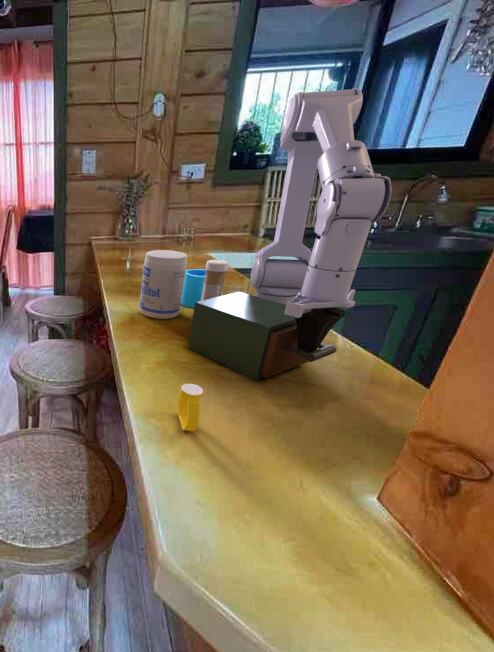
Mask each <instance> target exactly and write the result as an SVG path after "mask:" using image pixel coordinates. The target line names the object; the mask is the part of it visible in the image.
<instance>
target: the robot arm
mask: <svg viewBox="0 0 494 652" xmlns="http://www.w3.org/2000/svg"><path fill="white" fill-rule="evenodd" d="M363 99H364V95H363V93H362V90H361V89H360V88H359V87H353V88H352V89H337V90H323V91H310V92H309V91H307V92H302V91H298V92H296V93H295V94H294V95H292V96H291V98H290V99H289V101H288V104H287V107H286V110H285V113H284V116H283V121H282V128H281V133H280V140H279V141H280V146H279V148H280V149H281V150H283V151H285V152H287V164H286V165H287V166H286V171H285V176H284V177H285V178H284V182H283V188H282V194H281V200H280V205H279V211H278V217H277V222H276V227H275V232H274V233H275V234H274V239H273V242H271V243H269V244H267V245H266V246H264V247H262V248H260V249H259V250H258V251H257V253H256V254H255V259H254V262H253V264H252V266H251V271H250V284H251V286H252V288H253V289H255V295H254V296H256V297H260V298H263V299H267V300H270V301H274V302H277V303H281V304H285V305H287V306H286V310H285V313H284V314H286V315H290V316H293V317H294V318H295V321H296V325H297V335H298V349H300V350H302V351H305V352H308V353H310V352H313V351H315V350H318V349H319V348H318V347H319V346H320V344H322V343H323V341H324V340H325V338H326V336H327V335H328V333H329V332H331V330H332V329H333V328H334V326H335V325H336V324H337V323H338V322H339V321H340V320H341V319H343V318H344V317H345V316H346V314H347V310H345V309H349V308H353V307H355V305H356V301H355V300H354V296H355V293H356V289H353V288H352V287H351V286H352V283H353V280H354V278H355V275H356V272H357V268H358V266H359V263H360V260H361V257H362V254H363V251H364V249H365V245H366V242H367V240H368V236H369V233H370V230H371V227H372V223H376V222H377V221H379V220H380V219H381V218H382V217H383V216H384V215H385V212H386V211H387V209H388V207H389V204H390V201H391V199H392V198H391V197H392V189H393V188H392V182H391V181H392V180H391V178H390V177H388V176H386V175H383V176H382V174H381V173H375V171H374V169H373V166H372V162H371V159H370V155H369V152H368V149H367V146H366V144H365V143H364V142H363V141H361V140H358V139H357V140H356V139H355V133H354V132H355V131H354V124H355V123H356V121H357V119H358V117H359V115H360V113H361V109H362V106H363ZM317 170H318V175H319V180H320V185H321V193H320V196H319V198H318V202H317V207H316V220H315V224H314V233H315V234H316V237H315V240H314V243H313V247H312V250H311V249H309V248H308V247H307V246H306V245H305V244H303V239H304V235H305V228H306V223H307V219H308V214H309V208H310V205H311V204H310V203H311V199H312V192H313V189H314V184H315V183H314V182H315V179H316V178H315V177H316V173H317ZM272 257H284V258H272ZM285 257H286V258H285ZM288 257H289V258H290V257H291V258H296V259H289V258H288ZM340 307H341V308H340ZM343 308H345V309H343Z"/></svg>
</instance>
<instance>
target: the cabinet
mask: <svg viewBox="0 0 494 652" xmlns="http://www.w3.org/2000/svg"><path fill="white" fill-rule="evenodd" d="M286 306H287V305H285V304H281V303H277V302H274V301H270V300H267V299H263V298H260V297H256V296H255V295H252V294H248V293H245V292H241V291H238V292H233V293H228V294H224V295H222V296H220V297H215V298H211V299H207V300H203V301H198V302H195V307H194V308H193V312H192V313H193V314H192V320H191V326H190V333H189V340H188V346H187V348H188V349H189V350H192V351H193V352H196V353H198V354H200V355H201V356H204V357H206V358H208V359H210V360H213V361H215V362H216V363H219V364H221V365H223V366H225V367H227V368H229V369H232V370H234V371H236V372H237V373H240V374H242V375H244V376H247V377H248V378H251V379H253V380H255V381H258V380H260V379H263V378H265V377H264V376H261V375H260V373H261V369H262V365H263V361H264V357H265V353H266V350H267V346H268V342H269V338H270V334H271V331H273V330H276V329H279V328H283V327H286V326H289V325H292V324H295V323H296V321H295V318H294V317H293V316H290V315H286V314H284V313H285V310H286Z"/></svg>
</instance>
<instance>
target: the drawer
mask: <svg viewBox="0 0 494 652" xmlns="http://www.w3.org/2000/svg"><path fill="white" fill-rule="evenodd" d="M337 349H338V348H337V347H336V345H333V344H328V345H325V344H322V343H321V344H320V346H319V347H318V349H317V350H315V351H313V352H310V353H308V352H305V351H302V350H300V349H298V335H297V325H296V323H295V324H292V325H289V326H286V327H283V328H279V329H276V330H273V331H271V334H270V338H269V342H268V346H267V350H266V353H265V357H264V361H263V365H262V369H261V373H260V375H261V376H264V377H263V378H265V379H268V378H270V377H272V376H275V375H278V374H281V373H283V372H286V371H288V370H290V369H293V368H295V367H297V366H298V367H299V366H300V365H303V364H305V363H308V362H310V363H313V362H315V361H318V360H320V359H323V358H325V357H328V356H330V355H333V354H335V353H336V352H337Z"/></svg>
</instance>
